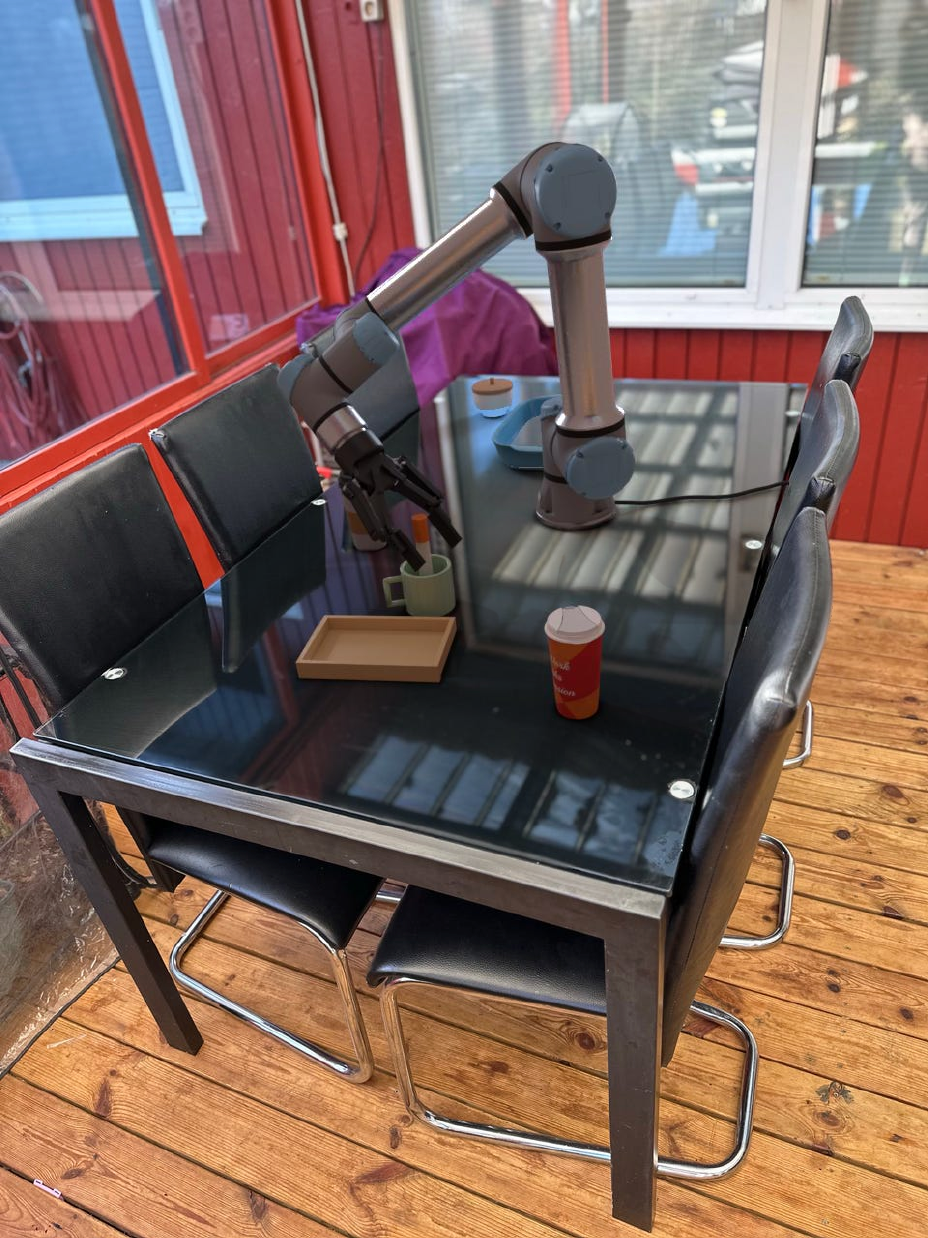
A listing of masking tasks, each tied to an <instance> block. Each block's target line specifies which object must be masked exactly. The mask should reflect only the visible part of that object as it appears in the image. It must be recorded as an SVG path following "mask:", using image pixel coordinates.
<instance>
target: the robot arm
mask: <svg viewBox="0 0 928 1238" xmlns="http://www.w3.org/2000/svg"><path fill="white" fill-rule="evenodd" d="M615 174H616V173H615V172H614V169H613V168H612V166H611V164H610V162H608V160H607V159H606V158H605V157H604V156H603V155H602V154H601V153H599V152H598V151H597V150H596V149H594V148H592V147H591V146H589V145H586V144H581V143H575V142H574V143H569V142H565V141H564V142H563V141H551V142H547V143H544V144H542V145H540V146H538V147H536V148H535V149H533V150H532V151H531V152H530V153H528V154H527V155H526V156H525V157H524V158H523V159H522V160H521V161H519V162H518V163H517V164H516V165H515V166H514V167H513V168H512V169H511V170H509V171H508V172H507V173H506V174H505V175H504V176H503V177H502V178H500V180H498V181H497V182H496V183H495V184H494V185H492V186H491V187H490V188H489V195H488V197H487V199H485V200H484V201H482V203H481V204H479V205H478V206H476V207H475V208H474V209H473V210H472V211H471V212H469V213H468V214H467V215H466V216H464V217H463V218H462V219H461V220H459V221H458V222H457V223H456V224H454V225H453V226H452V227H451V228H449V229H448V230H447V231H446V232H445V233H444V234H442V235H441V236H440V237H438V238H437V239H435V241H433V242H432V243H431V244H430V245H429V246H427V247H426V248H425V249H423V250H422V251H421V252H420V253H419V254H417V255H416V256H414V257H413V259H411V260H410V261H409V262H408V263H406V264H405V265H403V266H402V267H401V268H400V269H398V270H397V271H396V272H394V274H393V275H391V276H390V277H389V278H387V279H386V280H385V281H384V282H382V283H381V284H380V285H379V286H378V287H376V288H375V289H374V290H372V292H370V293H369V294H368V295H367V296H366V297H364V298H363V299H361V300H360V301H359V302H358V303H356V304H355V305H353V306H350V307H346V308H345V309H343V310H342V311H340V312H339V313H338V315H337V316H336V319H335V321H334V323H333V328H332V336H333V340H334V342H333V343H332V344H331V345H330V346H329V347H328V348H327V349H326V350H325V351H324V352H323V353H321V354H320V355H319V356H318V357H314V356H313V355H312V354H310V353H301V354H299V355H296V356H295V357H294V358H293V359H292V360H291V359H290V360H289V361H288V362H286V363H285V364H284V366H283V367H282V368H281V369H280V371H279V372H278V374H277V376H276V377H277V378H276V383H277V387H278V388H279V390H280V391H281V393H282V394H283V396H284V397H285V398H286V400H287V401H288V404H289V406H290V407H292V408H293V410H294V411H295V412H296V413H297V415H298V416H299V417H300V418H301V419H302V421H303V422H304V423H305V424H306V425H307V427H308V428H309V429H310V430H311V432H312V433H313V434H314V435H315V437H316V439H317V440H318V441H319V442H320V443H321V445H322V446H323V447H324V449H325V450H326V452H328V454H329V455H331V456H334V459H333V460H334V462H335V463H336V464H337V465H338V467H339V468H340V469H341V470H343V472H344V473H345V474H346V475H348V476H351V479H352V481H351V480H349V481H348V482H347V483H346V484H345V486H344V487H343V489H342V490H341V489H340V493H341V492H342V493H341V495H342V494H343V495H344V496H345V497H346V498H347V499H348V500H349V501H350V502H351V504H352V506H353V507H354V509H355V511H356V513H357V514H358V516H359V518H360V520H361V522H362V523H363V525H364V527H365V529H366V531H367V532H368V534H369V536H370V538H371V539H372V540H373V541H375V542H376V541H378V540H380V541H381V542H383V543H385V542H386V541H387V542H386V543H388V544H389V546H390V547H391V548H392V549H393V551H394V552H395V553H396V554H397V555H398V556H402V558H404V560H405V561H407V562H408V564H409V565H410V566H411V567H412V569H413V570H414V571H415V572H417V571H418V570H419V569H420V568H421V567H422V566H423V565H424V564H425V563H426V561H425V560H424V558H423V557H422V556H421V555H420V553H419V552H418V551H417V550H416V546H415V545H414V544H413V543H412V542H411V540H410V539H409V538H408V537H407V535H406V534H405V533H404V531H403V530H402V529H401V528H399V529H397V530H396V528H395V525H394V522H393V519H392V516H391V513H390V509H389V506H388V503H387V499H386V497H385V492H386V491H387V492H388V491H391V492H393V493H398V494H400V495H401V496H403V497H404V498H405V499H407V500H408V501H410V502H412V503H413V504H414V505H416V506H417V507H419V508H420V509H422V510H423V511H425V512H427V513H428V515H427V520H428V521H429V522H430V524H432V525H433V527H434V529H436V530H437V532H438V533H439V535H440V536H441V537H442V538H443V540H444V541H445V542H446V543H447V544H448V546H449V547H450V549H454V548H456V546H457V545H458V544H460V543H461V541H462V540H463V537H462V536H461V534H460V533H459V532H458V531H457V529H456V528H455V526H454V525H452V519H451V518H450V516H449V515H448V514H447V512H446V511H444V509H443V508H442V504H443V501H444V499H445V498H446V495H445V494H444V493H443V492H442V491H441V490H440V489H439V488H438V487H437V486H436V485H435V484H434V483H433V482H432V481H431V480H430V479H429V478H427V476H426V475H425V474H424V473H423V472H422V471H420V470H419V469H418V467H417V466H415V465H414V464H413V462H412V460H411V459H410V457H409V456H408V454H406V453H404V452H403V453H401V455H399V457H396V458H393V457H391V456H390V455H388V454H387V453H386V452H385V448H384V445H383V443H382V442H381V440H380V439H379V438H378V437H377V435H376V434H375V433H374V432H373V431H372V430H370V429H368V428H369V425H368V424H367V422H366V421H365V420H364V419H363V418H362V416H361V415H360V414H359V413H358V412H357V410H356V409H355V408H354V406H353V405H352V404H351V403H350V401H349V400H348V398H349V397H350V396H351V395H352V394H354V392H355V391H357V390H358V389H359V388H360V387H361V386H362V385H364V383H366V382H367V381H368V380H369V379H370V378H372V377H373V375H375V374H376V373H377V372H378V371H379V370H380V369H381V368H382V367H384V366H386V365H387V364H388V363H389V361H390V360H391V359H392V358H393V357H394V356H395V355H396V354H397V353H398V351H399V350H400V347H401V346H400V342H399V340H398V338H397V337H396V336H395V334H397V333H398V332H399V331H400V330H402V329H403V328H404V327H406V326H407V325H408V324H409V323H411V322H412V321H413V320H414V319H416V318H417V317H419V316H420V315H421V314H422V313H423V312H425V311H426V310H428V309H429V308H430V307H431V306H432V305H434V304H435V303H437V302H438V301H439V300H440V299H441V298H443V297H444V296H446V294H448V293H449V292H450V291H452V290H453V289H455V287H457V286H458V285H460V284H461V282H463V281H464V280H465V279H467V278H469V276H471V275H472V274H473V273H475V272H476V271H477V270H478V269H480V268H481V267H482V266H483V265H484V264H486V263H488V262H489V261H490V260H491V259H492V258H494V256H496V255H497V254H499V253H500V252H501V251H502V250H503V249H505V248H506V247H508V246H509V245H510V244H511V243H513V242H514V241H515V240H521V241H525V240H527V239H528V238H530V237H531V236H532V235H533V240H534V248H535V252H536V253H538V254H539V255H540V256H541V257H542V258H543V259H545V261H546V267H547V276H548V285H549V293H550V302H551V312H552V322H553V330H554V341H555V349H556V350H555V351H556V359H557V369H558V376H559V377H558V378H559V387H560V394H561V396H560V397H555V398H552V399H549V400H547V401H545V402H544V403H543V404H542V406H541V417H540V421H541V432H542V450H543V468H544V471H543V480H542V484H541V487H540V490H539V491H538V494H537V501H536V506H535V513H536V519H537V521H538V522H540V523H541V524H542V525H544V526H545V527H549V528H552V529H556V530H564V531H580V530H581V531H582V530H589V529H593V528H597V527H600V526H603V525H605V524H607V523H608V522H610V521H611V520H612V519H614V517H615V515H616V506H617V505H618V506H619V505H621V506H622V505H623V506H624V505H628V506H632V505H633V506H648V505H649V506H650V505H658V504H665V503H670V502H675V501H686V500H688V501H689V500H726V499H735V498H739V497H743V496H746V495H751V494H753V493H757V492H762V491H767V490H768V491H769V490H771V489H774V488H778V487H781V486H789V480H782V481H781V480H780V481H777V482H773V483H771V484H768V485H762V486H757V487H753V488H750V489H746V490H742V491H738V492H734V493H728V494H690V495H689V494H687V495H686V494H685V495H677V496H669V497H664V498H658V499H651V500H623V499H621V500H615V498H614V495H616V494H618V493H619V492H621V491H622V490H623V489H624V488H625V487H626V485H628V484H629V482H630V481H631V480H632V478H633V476H634V473H635V469H636V457H635V453H634V450H633V448H632V446H631V444H630V443H629V442H628V440H627V429H626V417H625V416H626V415H625V410H624V409H623V408H622V407H621V406H620V405H618V404H617V403H616V402H615V393H614V392H615V391H614V379H613V367H612V354H611V353H612V352H611V340H610V328H609V314H608V313H609V312H608V301H607V288H606V287H607V286H606V273H605V261H604V251H605V249H606V248H607V246H608V245H609V244H610V243H611V242H612V240H613V231H612V215H613V213H614V210H616V209H615V208H616V205H617V201H618V182H617V178H616V175H615ZM360 488H361V489H363V490H365V492H366V495H367V498H368V500H367V499H366V497H365V495H364V493H363V492H362V490H361V489H360ZM368 501H369V502H368ZM369 503H371V505H372V507H371V506H370V504H369ZM372 508H373V509H372Z"/></svg>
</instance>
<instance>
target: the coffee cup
mask: <svg viewBox="0 0 928 1238" xmlns="http://www.w3.org/2000/svg"><path fill="white" fill-rule="evenodd" d="M338 475H339V477H338V478H337V481H338V482H337V483H338V484H337V485H338V488H339V490H340V493H341V496H342V501H343V503H342V504H343V507H344V511H345V515H346V520H347V523H348V528H349V530H350V533H351V537H352V542H353V545H354V547H355V548H356V549H357V550H359V551H378V550H380V549H382V548H384V547H385V546H386V545H387V543H388V542H387V541H386V542H385V543H383V542H381V541H380V540H378V541H376V542H375V541H373V540H372V539H371V538H370V536H369V534H368V532H367V531H366V529H365V527H364V525H363V523H362V522H361V520H360V518H359V516H358V514H357V513H356V511H355V509H354V507H353V506H352V504H351V502H350V501H349V500H348V499H347V498H346V497H345V496H344V495H343V494H342V492H341V490H342V489H343V487H344V486H345V484H346V483H347V482H348V481H349V480H351V481H352V479H351V476H348V475H346V474H345V473H344V472H343V470H342V469H341V470H340V471H339V473H338ZM360 489H361V488H360ZM361 490H362V492H363V493H364V495H365V497H366V499H367V500H368V498H367V495H366V492H365V490H363V489H361ZM368 502H369V501H368ZM369 504H370V506H371V507H372V505H371V503H369ZM372 509H373V508H372Z"/></svg>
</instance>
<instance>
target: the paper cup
mask: <svg viewBox="0 0 928 1238" xmlns="http://www.w3.org/2000/svg"><path fill="white" fill-rule="evenodd" d="M605 630H606V625H605V622H604V620H603V619H602V616H601V614H600V613H599V612H598V611H597V610H596V609H595V608H592V607H589V606H586V605H577V606H574V605H573V606H565V608H562V607H559V608H557V609H555V610H553V611H552V612H551V613H550V614H549V615H548V617H547V621H546V623H545V625H544V632H545V634H546V635H547V640H548V641H547V643H548V650H549V657H550V666H551V674H552V675H551V676H552V682H553V690H554V691H553V692H554V699H555V704H556V709H557V711H558V713H559V714H560V715H562V716H563V717H565V718H566V719H571V720H582V719H588V718H591V717H592V716H593V715H595V714H596V713H597V711H598V709H599V700H600V686H601V685H600V684H601V668H602V665H601V664H602V648H603V647H602V646H603V645H602V643H603V634H604V632H605Z"/></svg>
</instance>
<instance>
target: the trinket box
mask: <svg viewBox="0 0 928 1238" xmlns="http://www.w3.org/2000/svg"><path fill="white" fill-rule="evenodd" d="M470 389H471V394H472V399H473V404H474V406H475V409H477V408H478V409H480V410H495V409H500V408H504V407H507V406H509V405H510V404H511V403H512V404H513V401H514V382H513V381H512V380H510V379H507V378H495V377H489V378H488V379H483V380H479V381H476V382H474V383H473V384H472V385H471V387H470Z"/></svg>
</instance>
